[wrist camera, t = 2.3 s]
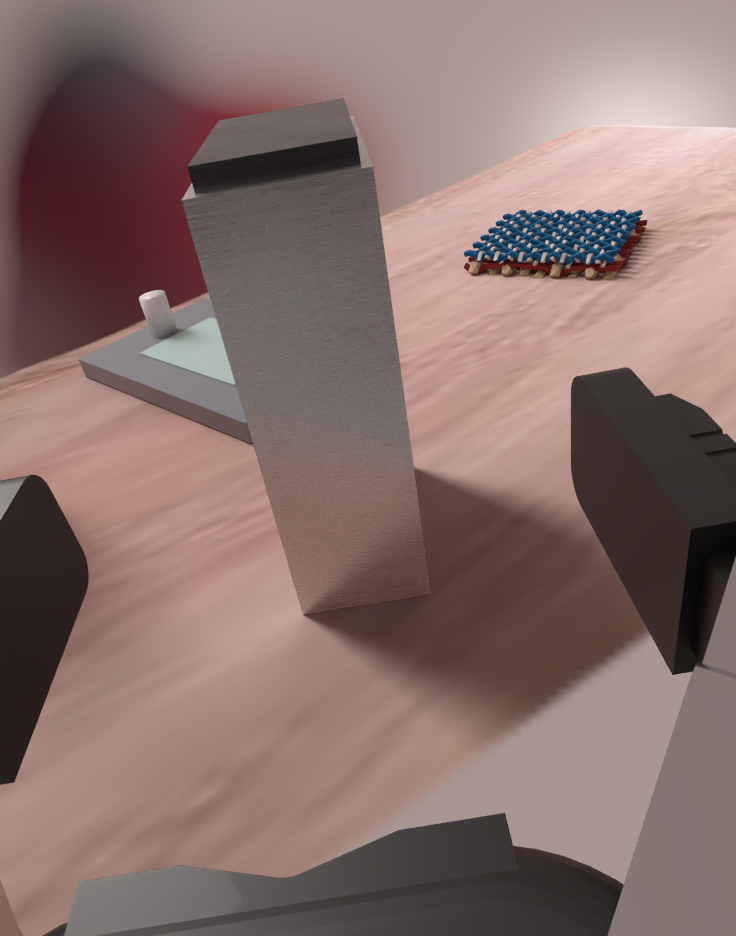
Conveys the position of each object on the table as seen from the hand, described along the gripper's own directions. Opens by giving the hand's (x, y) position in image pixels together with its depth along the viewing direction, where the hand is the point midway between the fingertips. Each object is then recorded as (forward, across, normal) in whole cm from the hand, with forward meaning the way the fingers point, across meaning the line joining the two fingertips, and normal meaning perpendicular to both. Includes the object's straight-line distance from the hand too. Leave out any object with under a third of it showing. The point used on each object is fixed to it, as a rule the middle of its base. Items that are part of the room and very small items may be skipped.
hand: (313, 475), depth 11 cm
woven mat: (+40, -16, +12) cm, 44 cm away
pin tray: (+30, +8, +11) cm, 32 cm away
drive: (+12, 0, +11) cm, 17 cm away
